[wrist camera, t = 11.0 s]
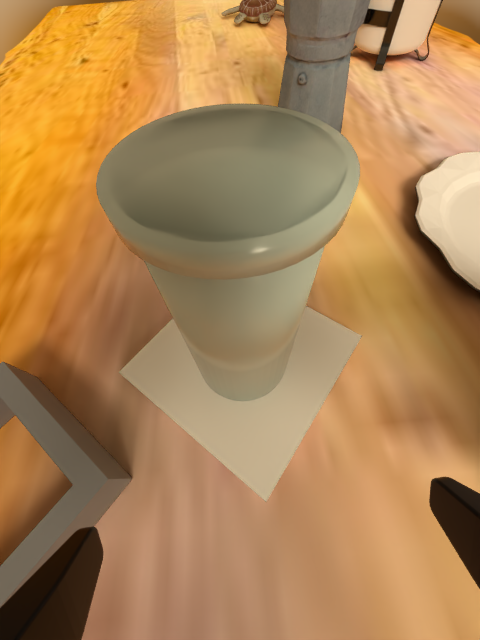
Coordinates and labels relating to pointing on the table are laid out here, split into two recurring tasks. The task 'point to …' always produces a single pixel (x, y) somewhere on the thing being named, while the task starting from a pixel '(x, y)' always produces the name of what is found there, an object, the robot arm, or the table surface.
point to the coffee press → (396, 27)
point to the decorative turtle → (255, 11)
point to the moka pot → (319, 56)
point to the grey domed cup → (232, 228)
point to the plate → (453, 213)
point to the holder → (73, 460)
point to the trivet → (246, 416)
